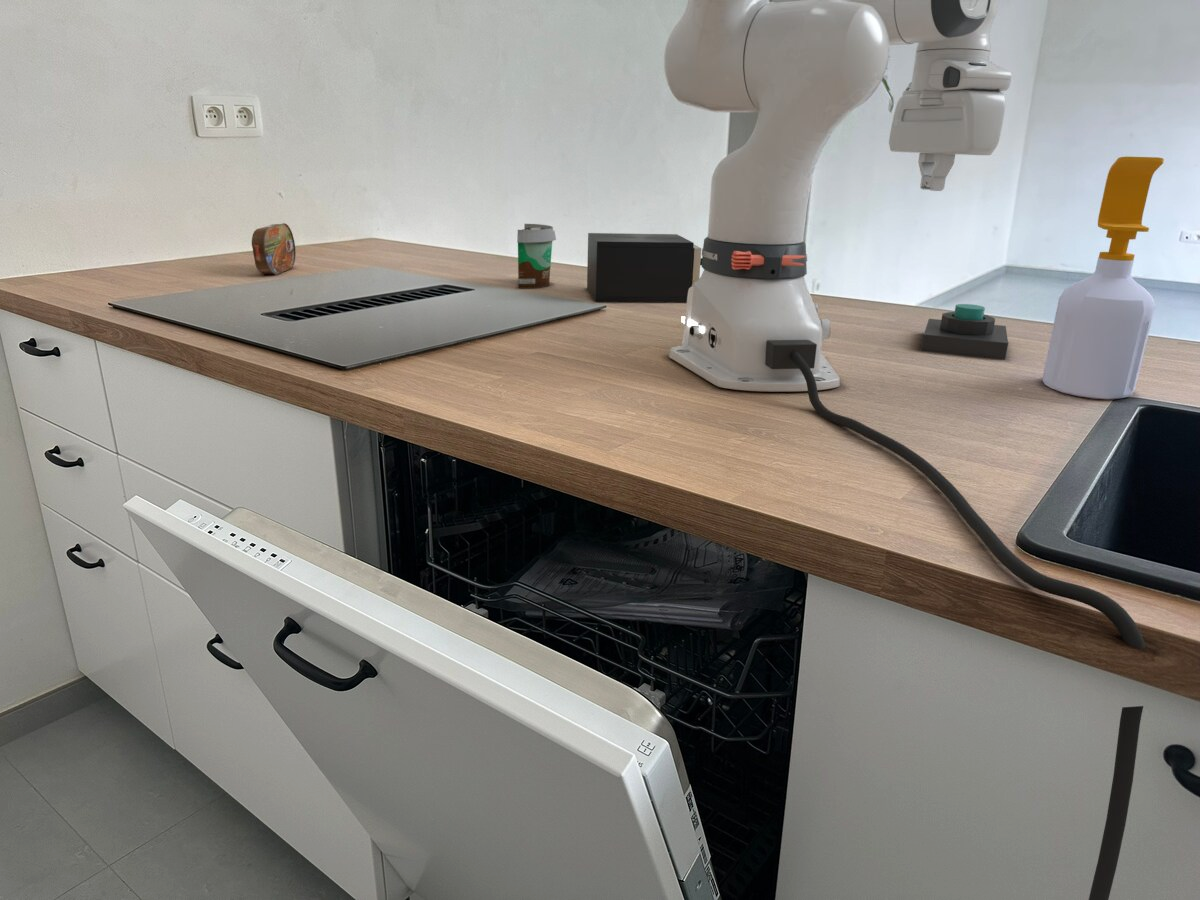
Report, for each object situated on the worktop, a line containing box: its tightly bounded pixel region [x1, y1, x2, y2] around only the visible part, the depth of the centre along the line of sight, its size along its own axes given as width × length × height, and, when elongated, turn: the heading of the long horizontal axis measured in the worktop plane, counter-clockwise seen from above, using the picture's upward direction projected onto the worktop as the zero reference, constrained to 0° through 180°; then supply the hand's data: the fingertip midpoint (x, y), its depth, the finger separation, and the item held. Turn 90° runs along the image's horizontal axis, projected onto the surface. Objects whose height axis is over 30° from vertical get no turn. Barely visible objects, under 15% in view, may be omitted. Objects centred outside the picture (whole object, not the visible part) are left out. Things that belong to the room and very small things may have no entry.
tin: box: [251, 222, 297, 276], centre depth 158 cm, size 15×3×8 cm, turn 179°
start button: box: [953, 303, 986, 320], centre depth 113 cm, size 4×4×2 cm
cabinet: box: [586, 232, 695, 303], centre depth 144 cm, size 16×13×10 cm
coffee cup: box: [516, 223, 557, 289], centre depth 152 cm, size 12×6×10 cm, turn 179°
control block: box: [921, 311, 1009, 361], centre depth 114 cm, size 12×10×4 cm
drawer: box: [691, 244, 702, 287], centre depth 144 cm, size 19×11×8 cm, turn 97°
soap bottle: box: [1042, 156, 1165, 400], centre depth 92 cm, size 9×9×25 cm
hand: (931, 190), depth 114 cm, fingers closed
